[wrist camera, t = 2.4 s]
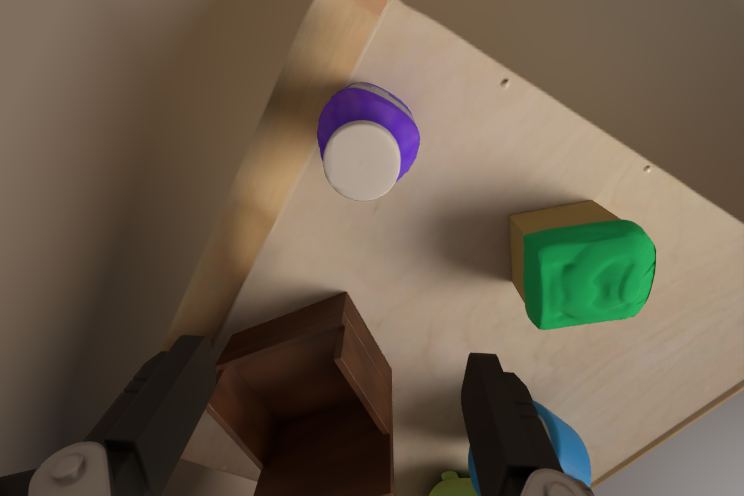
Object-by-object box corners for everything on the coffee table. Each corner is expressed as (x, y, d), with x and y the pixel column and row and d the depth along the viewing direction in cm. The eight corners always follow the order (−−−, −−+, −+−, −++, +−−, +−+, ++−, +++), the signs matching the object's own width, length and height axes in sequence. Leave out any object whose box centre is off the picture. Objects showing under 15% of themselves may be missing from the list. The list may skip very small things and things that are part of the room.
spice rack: (231, 334, 47) (164, 455, 33) (346, 291, 44) (328, 404, 29) (285, 403, 52) (247, 533, 38) (391, 369, 49) (394, 498, 34)
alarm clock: (532, 376, 48) (589, 497, 35) (562, 399, 50) (627, 523, 37) (458, 427, 53) (482, 551, 40) (487, 447, 55) (521, 572, 41)
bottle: (324, 127, 35) (276, 179, 20) (352, 68, 33) (324, 76, 18) (391, 165, 37) (395, 241, 21) (422, 111, 35) (453, 153, 19)
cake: (604, 273, 42) (665, 332, 33) (506, 289, 43) (538, 349, 34) (610, 190, 37) (682, 230, 28) (501, 209, 39) (536, 254, 30)
